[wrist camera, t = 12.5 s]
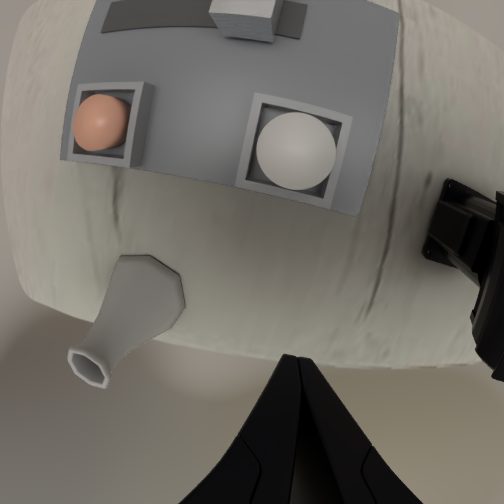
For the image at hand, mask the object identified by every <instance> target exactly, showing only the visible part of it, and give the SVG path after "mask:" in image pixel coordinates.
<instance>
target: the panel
mask: <svg viewBox="0 0 504 504" xmlns="http://www.w3.org/2000/svg"><path fill="white" fill-rule="evenodd" d="M211 3H212V0H97V1H96V3H95V5H94V8H93V11H92V13H91V16H90V19H89V21H88V24H87V27H86V30H85V33H84V36H83V39H82V43H81V46H80V49H79V53H78V56H77V60H76V64H75V68H74V72H73V76H72V81H71V85H70V90H69V95H68V101H67V106H66V112H65V119H64V126H63V134H62V143H61V154H60V160H67V161H76V162H85V163H94V164H102V165H110V166H117V167H124V168H131V169H138V170H144V171H151V172H157V173H163V174H169V175H175V176H180V177H186V178H191V179H197V180H202V181H207V182H212V183H217V184H222V185H227V186H232V187H237V188H241V189H246V190H251V191H255V192H260V193H264V194H268V195H273V196H277V197H281V198H285V199H290V200H294V201H298V202H302V203H306V204H310V205H314V206H317V207H321V208H325V209H329V210H332V211H336V212H340V213H343V214H347V215H351V216H354V217H358V216H359V213H360V210H361V206H362V203H363V200H364V196H365V193H366V189H367V186H368V182H369V178H370V175H371V171H372V167H373V163H374V159H375V155H376V151H377V147H378V143H379V138H380V134H381V130H382V125H383V120H384V116H385V111H386V106H387V101H388V95H389V90H390V84H391V78H392V72H393V65H394V58H395V51H396V43H397V34H398V25H399V13H397V12H395V11H392V10H390V9H388V8H385V7H383V6H380V5H377V4H375V3H372V2H369V1H367V0H284V1H283V5H282V9H281V13H280V17H279V21H278V25H277V29H276V33H275V37H274V41H273V43H272V42H266V41H260V40H253V39H246V38H237V37H227V36H222V34H221V32H220V31H219V29H218V27H217V26H216V24H215V22H214V21H213V19H212V17H211V16H210V14H209V13H208V12H209V9H210V6H211ZM97 94H102V95H107V96H113V97H118V98H121V99H124V100H125V101H126V102H127V103H128V104H129V105H130V107H131V113H130V119H129V124H128V131H127V137H126V140H125V141H124V142H123V143H122V144H121V145H119V146H117V147H115V148H112V149H103V150H95V151H88V150H85V149H83V148H82V147H80V146H79V145H78V143H77V142H76V140H75V137H74V133H73V121H74V117H75V114H76V111H77V110H78V108H79V106H80V105H81V104H82V102H83V101H84V100H86V99H87V98H89V97H90V96H93V95H97ZM292 112H298V113H305V114H308V115H311V116H313V117H315V118H317V119H318V120H320V121H321V122H322V123H323V124H324V125H325V126H326V127H327V128H328V129H329V131H330V132H331V134H332V136H333V139H334V142H335V146H336V158H335V162H334V166H333V168H332V170H331V172H330V173H329V175H328V176H327V177H326V178H325V179H324V180H323V181H322V182H320V183H319V184H317V185H315V186H313V187H311V188H308V189H303V190H292V189H287V188H284V187H281V186H279V185H277V184H275V183H274V182H272V181H271V180H270V179H269V178H268V177H267V176H266V175H265V173H264V172H263V171H262V169H261V167H260V165H259V162H258V159H257V141H258V138H259V135H260V133H261V131H262V130H263V128H264V127H265V126H266V125H267V124H268V123H269V122H270V121H271V120H272V119H274V118H276V117H277V116H279V115H282V114H286V113H292Z"/></svg>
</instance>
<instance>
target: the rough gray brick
mask: <svg viewBox="0 0 504 504" xmlns="http://www.w3.org/2000/svg"><path fill="white" fill-rule="evenodd" d="M283 1H284V0H212V3H211V6H210V9H209V12H208V13H209V14H210V16H211V17H212V19H213V21H214V22H215V24H216V26H217V27H218V29H219V31H220V32H221V34H222V36H227V37H237V38H246V39H253V40H260V41H266V42H272V43H273V41H274V37H275V33H276V29H277V25H278V21H279V17H280V13H281V9H282V5H283Z"/></svg>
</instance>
